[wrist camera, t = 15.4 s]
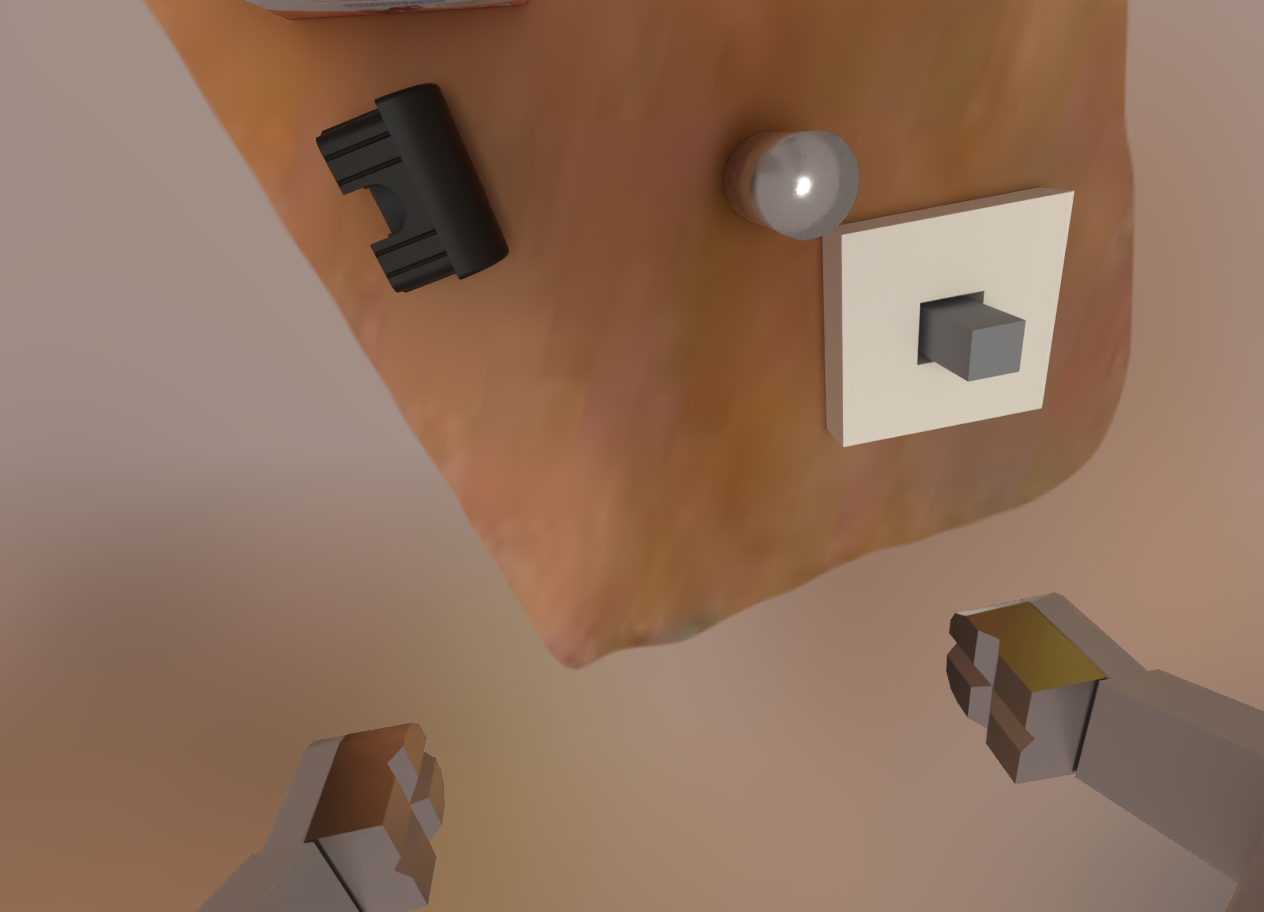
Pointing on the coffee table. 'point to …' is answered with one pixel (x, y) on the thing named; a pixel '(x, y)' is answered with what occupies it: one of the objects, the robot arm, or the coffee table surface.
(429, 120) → the end cap
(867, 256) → the socket block
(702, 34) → the coffee table surface
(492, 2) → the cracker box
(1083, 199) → the coffee table surface
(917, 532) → the coffee table surface
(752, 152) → the round peg
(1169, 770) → the robot arm
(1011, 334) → the square peg
